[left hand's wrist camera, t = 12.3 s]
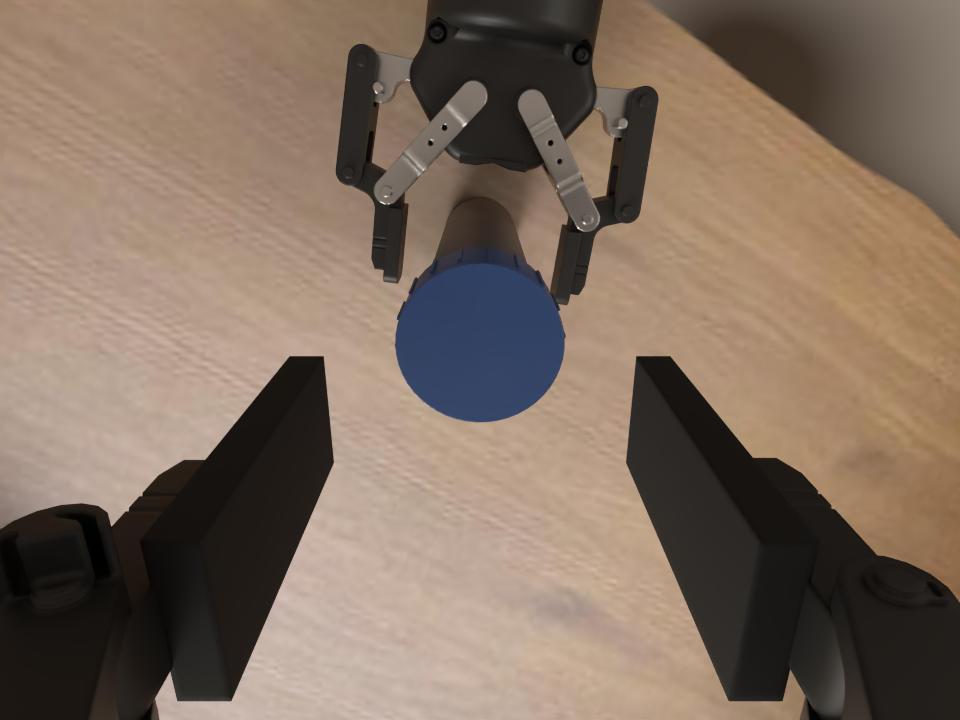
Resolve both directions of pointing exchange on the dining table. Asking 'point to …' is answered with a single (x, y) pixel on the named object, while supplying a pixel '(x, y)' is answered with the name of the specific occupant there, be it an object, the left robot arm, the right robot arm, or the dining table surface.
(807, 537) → the left robot arm
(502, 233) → the jar
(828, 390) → the dining table surface
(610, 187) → the right robot arm
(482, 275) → the lid
